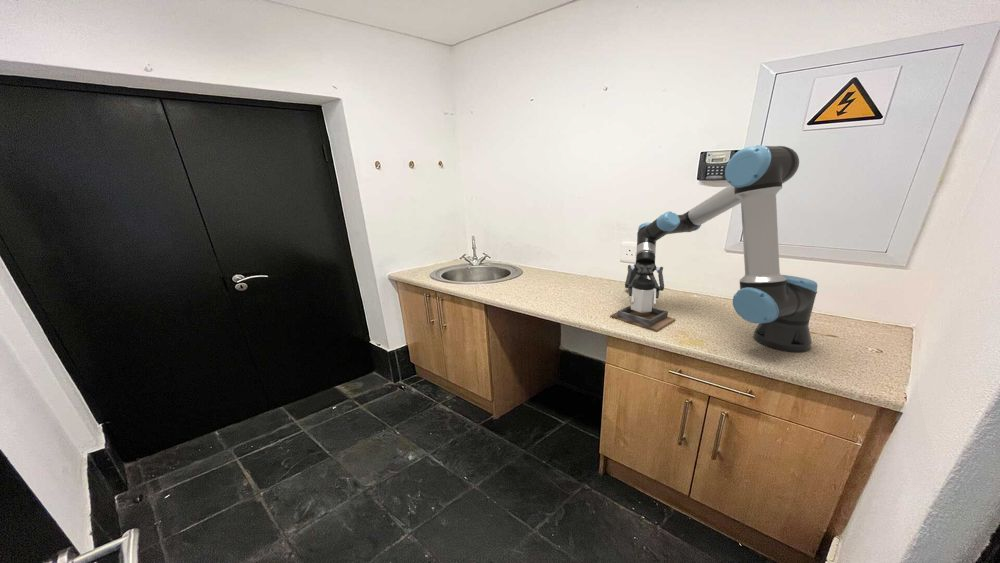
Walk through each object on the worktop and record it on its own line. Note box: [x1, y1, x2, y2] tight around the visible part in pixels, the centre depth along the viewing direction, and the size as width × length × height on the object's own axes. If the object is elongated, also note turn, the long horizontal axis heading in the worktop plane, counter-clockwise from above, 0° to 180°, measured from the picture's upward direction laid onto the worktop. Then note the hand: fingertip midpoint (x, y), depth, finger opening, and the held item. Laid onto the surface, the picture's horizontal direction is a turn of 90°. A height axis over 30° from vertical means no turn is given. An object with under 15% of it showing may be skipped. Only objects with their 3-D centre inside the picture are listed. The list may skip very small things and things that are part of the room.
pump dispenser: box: [627, 263, 649, 291], centre depth 168 cm, size 10×10×15 cm
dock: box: [610, 304, 676, 333], centre depth 137 cm, size 20×15×4 cm
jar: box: [630, 278, 655, 313], centre depth 135 cm, size 9×8×12 cm
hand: (643, 303), depth 132 cm, fingers closed on jar, 7 cm apart
